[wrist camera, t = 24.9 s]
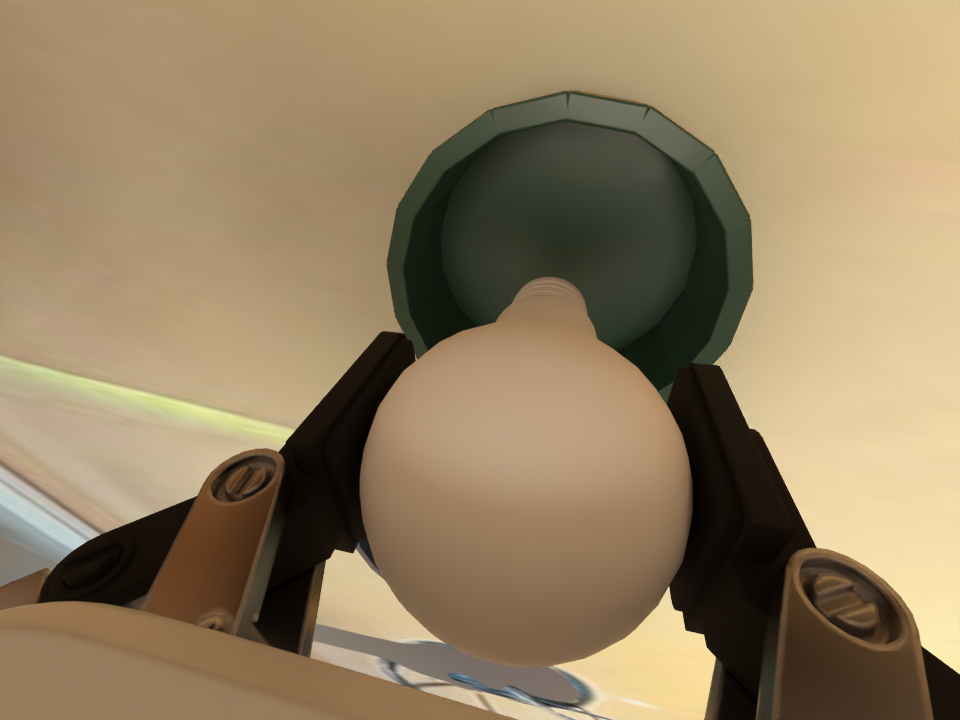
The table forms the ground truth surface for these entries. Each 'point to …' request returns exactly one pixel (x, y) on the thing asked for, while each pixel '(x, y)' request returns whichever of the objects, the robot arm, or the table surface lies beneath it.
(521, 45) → the table surface
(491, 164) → the tin
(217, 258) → the table surface
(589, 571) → the lightbulb
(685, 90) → the table surface
